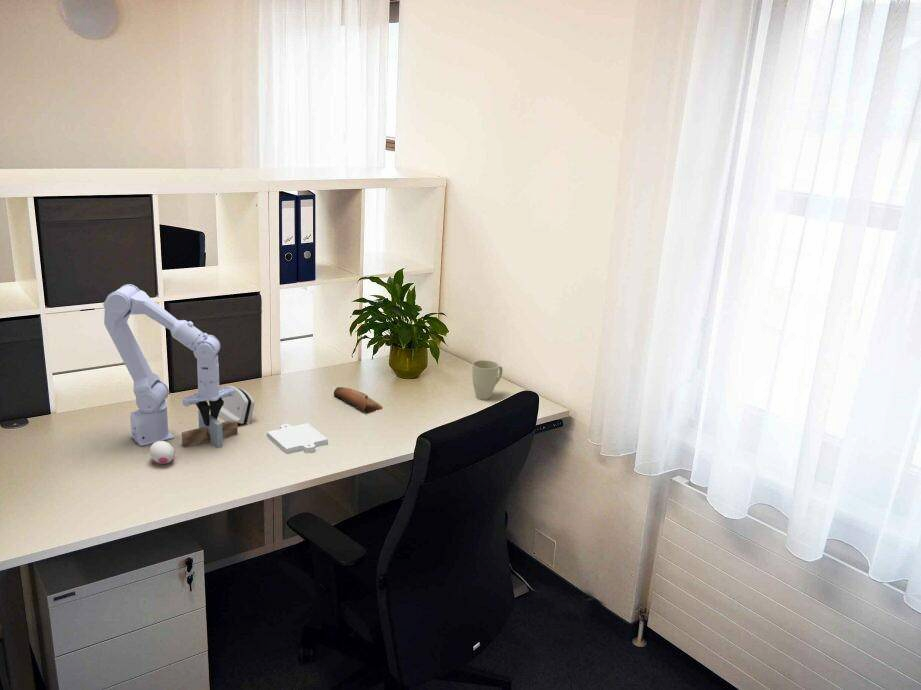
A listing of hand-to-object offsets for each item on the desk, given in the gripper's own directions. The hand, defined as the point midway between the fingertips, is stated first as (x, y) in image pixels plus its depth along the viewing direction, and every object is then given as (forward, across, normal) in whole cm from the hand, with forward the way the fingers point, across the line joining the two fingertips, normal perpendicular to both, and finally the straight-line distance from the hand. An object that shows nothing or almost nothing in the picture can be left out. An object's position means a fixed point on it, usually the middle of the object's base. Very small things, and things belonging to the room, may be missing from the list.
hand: (210, 424), depth 221 cm
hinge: (+5, +13, +12) cm, 18 cm away
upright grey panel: (+5, 0, 0) cm, 5 cm away
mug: (+5, +91, -19) cm, 93 cm away
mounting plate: (+6, +20, -14) cm, 25 cm away
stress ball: (+5, -16, -6) cm, 18 cm away
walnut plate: (+5, 0, 0) cm, 5 cm away
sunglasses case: (+6, +51, 0) cm, 52 cm away
